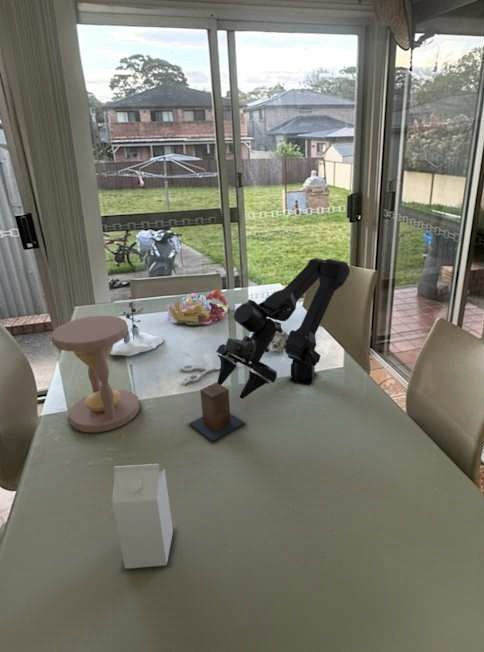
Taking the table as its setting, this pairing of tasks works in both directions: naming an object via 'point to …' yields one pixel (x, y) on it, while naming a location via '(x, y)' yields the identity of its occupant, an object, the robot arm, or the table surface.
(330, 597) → the table surface
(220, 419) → the walnut block
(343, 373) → the table surface
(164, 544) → the milk carton
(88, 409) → the hourglass
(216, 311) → the yellow pink lumpy heap
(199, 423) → the coaster mat
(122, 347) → the figurine
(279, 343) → the pale grey lumpy piece
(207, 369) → the scissors
